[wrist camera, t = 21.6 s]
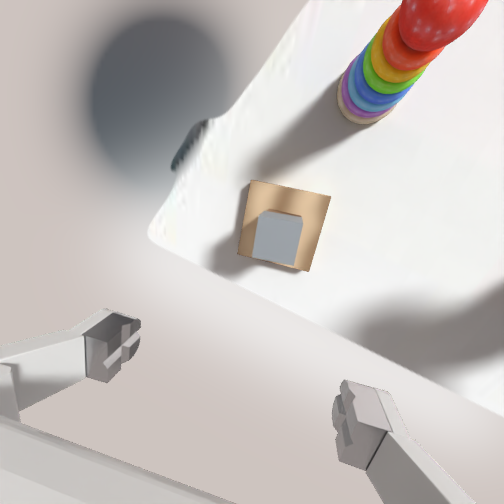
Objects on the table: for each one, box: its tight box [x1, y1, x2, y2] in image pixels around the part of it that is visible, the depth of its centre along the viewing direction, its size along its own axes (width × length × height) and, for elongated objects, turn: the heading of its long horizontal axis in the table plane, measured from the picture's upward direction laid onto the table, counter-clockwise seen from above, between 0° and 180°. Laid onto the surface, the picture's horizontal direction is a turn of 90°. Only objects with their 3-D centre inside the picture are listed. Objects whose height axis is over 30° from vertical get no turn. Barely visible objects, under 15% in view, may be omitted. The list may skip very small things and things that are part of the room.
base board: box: [237, 180, 331, 272], centre depth 37 cm, size 12×12×2 cm
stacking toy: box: [337, 0, 488, 124], centre depth 22 cm, size 8×8×19 cm
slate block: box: [252, 211, 303, 266], centre depth 29 cm, size 5×5×5 cm
